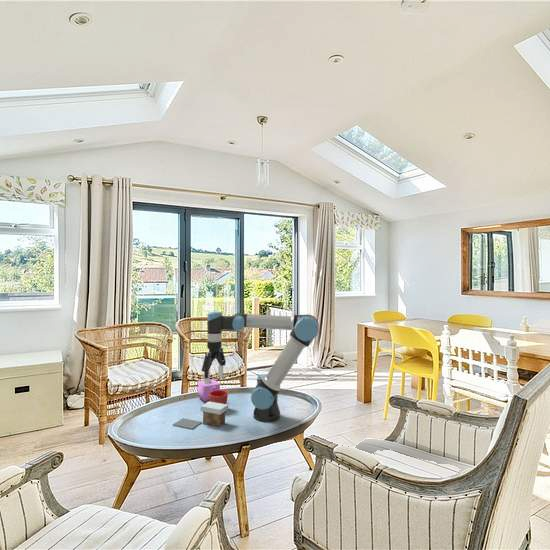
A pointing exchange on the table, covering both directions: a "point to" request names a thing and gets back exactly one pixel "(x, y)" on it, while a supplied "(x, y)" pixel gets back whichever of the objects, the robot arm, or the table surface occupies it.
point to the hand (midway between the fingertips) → (214, 380)
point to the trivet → (187, 423)
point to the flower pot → (218, 396)
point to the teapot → (207, 389)
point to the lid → (214, 407)
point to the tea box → (213, 419)
